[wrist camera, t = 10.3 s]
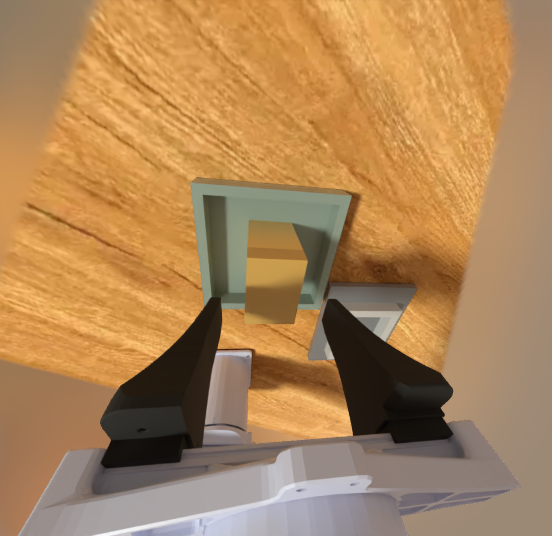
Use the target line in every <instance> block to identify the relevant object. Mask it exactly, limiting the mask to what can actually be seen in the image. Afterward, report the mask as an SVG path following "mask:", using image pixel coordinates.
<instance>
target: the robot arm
mask: <svg viewBox="0 0 552 536" xmlns="http://www.w3.org/2000/svg"><path fill="white" fill-rule="evenodd" d="M322 324H323V328H324V332H325V336H326V338H327V341H328V344H329V346H330V349H331V351H332V354H333V357H334V359H335V362H336V365H337V368H338V371H339V374H340V378H341V382H342V386H343V390H344V394H345V398H346V402H347V407H348V411H349V416H350V421H351V426H352V431H353V436H347V437H335V438H322V439H309V440H297V441H285V442H271V443H260V444H256V443H254V442H251V432H247V416H248V388H249V387H250V379H251V361H252V351H251V350H218V351H217V347H218V343H219V339H220V334H221V326H222V307H221V297H211V298H210V299H209V300H208V302H207V304H206V305H205V307H204V308H203V310H202V311H201V313H200V314H199V315H198V317H197V318H196V319H195V321H194V322H193V323H192V325H191V326H190V327H189V328H188V329H187V330H186V332H185V333H184V334H183V335H182V336H181V337H180V338H179V339H178V340H177V341H176V342H175V343H174V344H173V345H172V346H171V347H170V348H169V349H168V350H167V351H166V352H165V353H164V354H162V355H161V356H160V357H159V358H158V359H156V360H155V361H154V362H153V363H151V364H150V365H149V366H148V367H146V368H145V369H144V370H143V371H141V372H140V373H138V374H137V375H136V376H134V377H133V378H131V379H130V380H128V381H127V382H126V383H124V384H122V385H121V386H120V387H119V389H118V390H117V392H116V393H115V395H114V396H113V398H112V399H111V401H110V403H109V405H108V407H107V409H106V410H105V412H104V414H103V416H102V418H101V421H100V424H101V426H102V429H103V430H104V431H105V432H106V433H107V435H108V436H109V437H110V439H111V442H110V444H109V446H108V448H107V450H106V449H104V448H87V449H73V450H69V451H68V452H67V453H66V455H65V456H64V458H63V460H62V462H61V463H60V465H59V467H58V468H57V470H56V472H55V473H54V475H53V477H52V479H51V480H50V482H49V484H48V486H47V487H46V489H45V491H44V492H43V494H42V496H41V498H40V499H39V501H38V503H37V504H36V506H35V508H34V509H33V511H32V513H31V515H30V516H29V518H28V520H27V521H26V523H25V525H24V527H23V528H22V530H21V532H20V533H19V535H18V536H408V533H407V531H406V529H405V526H404V523H403V521H402V518H401V516H405V515H410V514H416V513H421V512H426V511H431V510H437V509H442V508H448V507H453V506H459V505H465V504H472V503H479V502H485V501H488V500H490V499H493V498H495V497H498V496H500V495H503V494H505V493H508V492H510V491H513V490H515V489H518V488H520V487H521V484H520V483H519V482H518V480H517V479H516V478H515V476H514V475H513V474H512V472H511V471H510V470H509V469H508V467H507V466H506V465H505V463H504V462H503V461H502V459H501V458H500V457H499V455H498V454H497V453H496V452H495V450H494V449H493V448H492V446H491V445H490V444H489V443H488V441H487V440H486V439H485V437H484V436H483V435H482V433H481V432H480V431H479V429H478V428H477V427H476V426H475V424H474V423H473V422H472V421H471V420H465V421H453V422H449V423H446V422H445V421H444V419H443V418H442V417H444V416H445V414H444V412H443V411H442V410H441V407H442V406H443V405H444V404H445V403H446V402H447V401H448V400H449V399H450V398H451V397H452V394H453V389H452V387H451V386H450V385H449V383H448V382H447V381H446V380H445V378H444V377H443V376H442V375H441V373H439V372H437V371H435V370H433V369H431V368H429V367H427V366H425V365H423V364H421V363H419V362H417V361H416V360H414V359H412V358H410V357H408V356H407V355H405V354H403V353H402V352H400V351H398V350H397V349H395V348H394V347H392V346H391V345H389V344H388V343H386V342H385V341H384V340H382V339H381V338H380V337H378V336H377V335H376V334H374V333H373V332H372V331H371V330H369V329H368V328H367V327H366V326H365V325H363V324H362V323H361V322H360V321H359V320H358V319H357V318H356V317H355V316H354V315H353V314H352V313H351V312H349V311H348V310H347V309H346V308H345V307H344V306H343V305H342V304H341V303H340V302H339V301H338V300H337V299H328V300H327V303H326V307H325V310H324V314H323V317H322Z"/></svg>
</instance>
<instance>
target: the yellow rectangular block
mask: <svg viewBox="0 0 552 536" xmlns="http://www.w3.org/2000/svg"><path fill="white" fill-rule="evenodd" d="M307 263H308V260H307V257H306V255H305V253H304V251H303V248H302V246H301V244H300V241H299V239H298V237H297V234H296V232H295V230H294V227H293V225H292V223H287V222H273V221H259V220H249V225H248V245H247V268H246V294H245V320H244V324H294V322H295V317H296V313H297V308H298V304H299V299H300V294H301V290H302V285H303V281H304V276H305V272H306V267H307Z"/></svg>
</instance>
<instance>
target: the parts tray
mask: <svg viewBox="0 0 552 536" xmlns="http://www.w3.org/2000/svg"><path fill="white" fill-rule="evenodd" d="M190 184H191V193H192V201H193V210H194V219H195V227H196V236H197V245H198V254H199V262H200V271H201V280H202V288H203V297H204V306H205V305H206V304H207V302H208V300H209V299H210V298H211V297H221V307H222V309H245V294H246V268H247V245H248V225H249V220H259V221H273V222H287V223H292V225H293V227H294V230H295V232H296V234H297V237H298V239H299V241H300V244H301V246H302V248H303V251H304V253H305V255H306V257H307V260H308V263H307V267H306V272H305V276H304V281H303V285H302V290H301V294H300V299H299V304H298V308H297V309H303V310H320V307H321V303H322V300H323V296H324V293H325V289H326V286H327V282H328V279H329V275H330V272H331V268H332V265H333V261H334V257H335V254H336V250H337V247H338V243H339V240H340V236H341V233H342V229H343V226H344V222H345V219H346V215H347V212H348V208H349V205H350V201H351V198H352V196H351V195H350V194H348V193H347V192H345V191H343V190H339V189H328V188H316V187H304V186H292V185H281V184H269V183H257V182H245V181H234V180H222V179H210V178H198V177H197V178H196V179H194V180H193V181H192V182H191V183H190Z"/></svg>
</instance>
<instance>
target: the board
mask: <svg viewBox="0 0 552 536" xmlns="http://www.w3.org/2000/svg"><path fill="white" fill-rule="evenodd" d="M417 289H418V288H417V287H416V286H415V285H414V284H391V283H350V282H328V286H327V289H326V293H325V296H324V300H323V303H322V307H321V310H320V314H319V317H318V321H317V324H316V328H315V331H314V335H313V338H312V342H311V345H310V349H309V352H308V360H335V359H334V357H333V354H332V351H331V349H330V346H329V344H328V341H327V338H326V336H325V332H324V328H323V324H322V317H323V314H324V310H325V307H326V303H327V300H328V299H337V300H338V301H339V302H340V303H341V304H342V305H343V306H344V307H345V308H346V309H347V310H348V311H349V312H351V313H352V314H353V315H354V316H355V317H356V318H357V319H358V320H359V321H360V322H361V323H362V324H363V325H365V326H366V327H367V328H368V329H369V330H371V331H372V332H373V333H374V334H376V335H377V336H378V337H380V338H381V339H382V340H384V341H385V342H387V340H388V338H389V337H390V335H391V333H392V332H393V330H394V328H395V326H396V325H397V323H398V321H399V320H400V318H401V316H402V314H403V313H404V311H405V309H406V307H407V306H408V304H409V302H410V301H411V299H412V297H413V295H414V294H415V292H416V290H417Z"/></svg>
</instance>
